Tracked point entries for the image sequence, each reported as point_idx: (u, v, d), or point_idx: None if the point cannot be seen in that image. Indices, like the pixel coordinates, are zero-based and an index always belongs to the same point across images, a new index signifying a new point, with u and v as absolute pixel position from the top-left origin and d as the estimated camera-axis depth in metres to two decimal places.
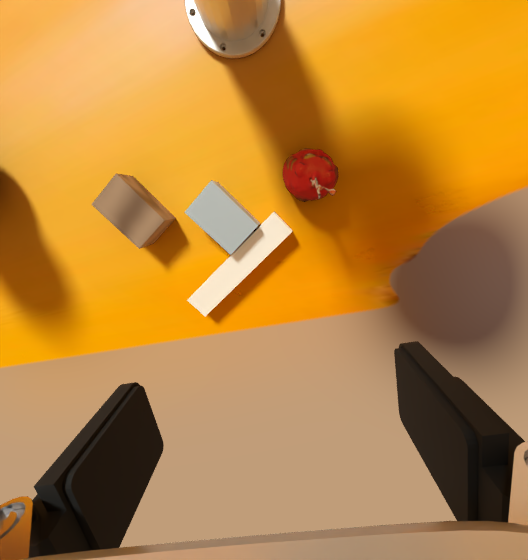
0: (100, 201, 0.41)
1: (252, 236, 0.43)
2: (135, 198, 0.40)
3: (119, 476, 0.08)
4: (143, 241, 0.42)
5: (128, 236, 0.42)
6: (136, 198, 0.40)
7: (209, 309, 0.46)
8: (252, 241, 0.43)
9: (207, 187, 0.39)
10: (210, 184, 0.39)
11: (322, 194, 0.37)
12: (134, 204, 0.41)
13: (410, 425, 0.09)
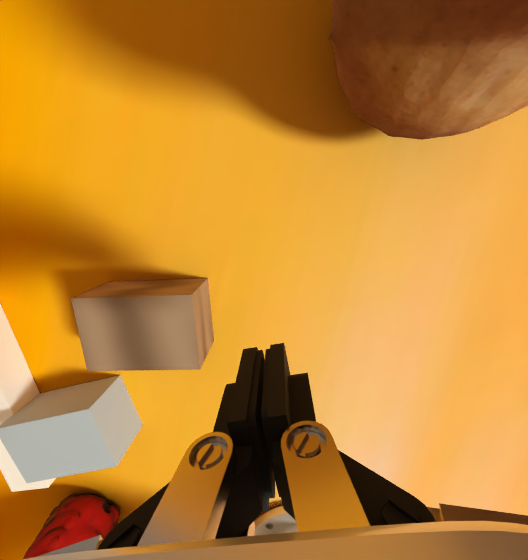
0: (184, 311, 0.20)
1: None
2: (148, 362, 0.22)
3: None
4: (77, 315, 0.21)
5: (101, 300, 0.21)
6: (145, 363, 0.22)
7: None
8: None
9: (109, 456, 0.24)
10: (111, 462, 0.24)
11: None
12: (141, 353, 0.21)
13: None
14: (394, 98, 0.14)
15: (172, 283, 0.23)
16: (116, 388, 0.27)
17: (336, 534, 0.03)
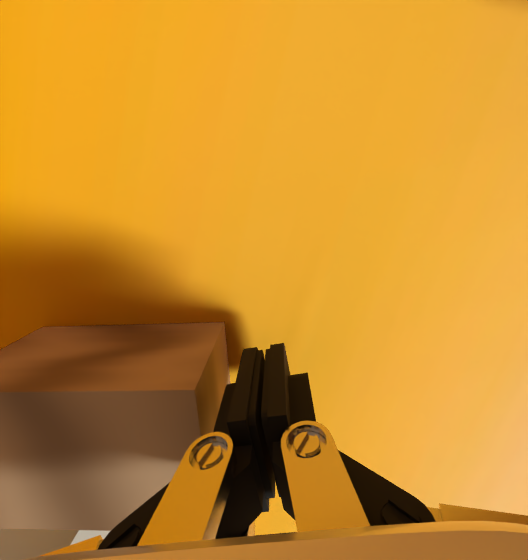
0: (178, 424, 0.09)
1: None
2: (103, 517, 0.10)
3: None
4: None
5: None
6: (98, 519, 0.10)
7: None
8: None
9: None
10: None
11: None
12: (87, 501, 0.10)
13: None
14: None
15: (156, 338, 0.12)
16: None
17: (336, 534, 0.03)
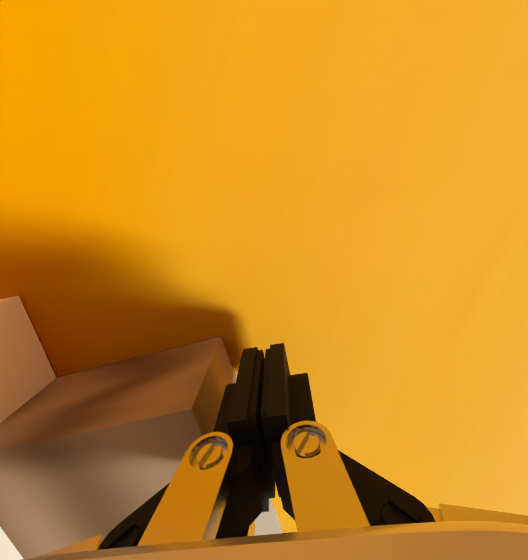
0: (185, 445, 0.09)
1: None
2: None
3: None
4: None
5: (11, 455, 0.10)
6: None
7: None
8: None
9: None
10: None
11: None
12: None
13: None
14: None
15: (158, 366, 0.12)
16: None
17: (336, 534, 0.03)
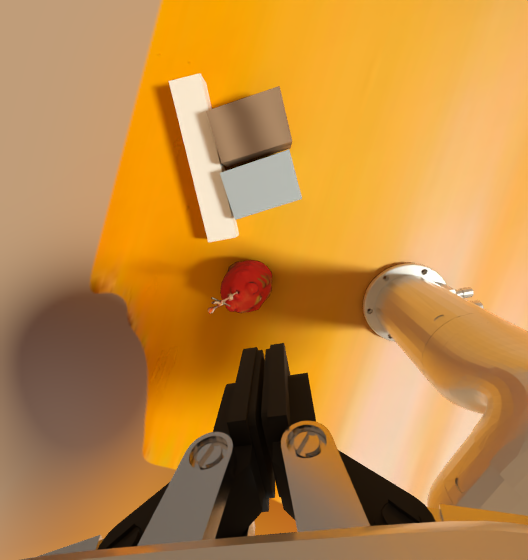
0: (276, 100, 0.33)
1: (226, 201, 0.38)
2: (258, 145, 0.34)
3: None
4: (211, 122, 0.34)
5: (224, 107, 0.33)
6: (257, 147, 0.34)
7: (174, 94, 0.35)
8: (222, 198, 0.38)
9: (298, 190, 0.35)
10: (298, 195, 0.35)
11: (221, 290, 0.37)
12: (253, 139, 0.34)
13: None
14: None
15: None
16: None
17: (336, 534, 0.03)
